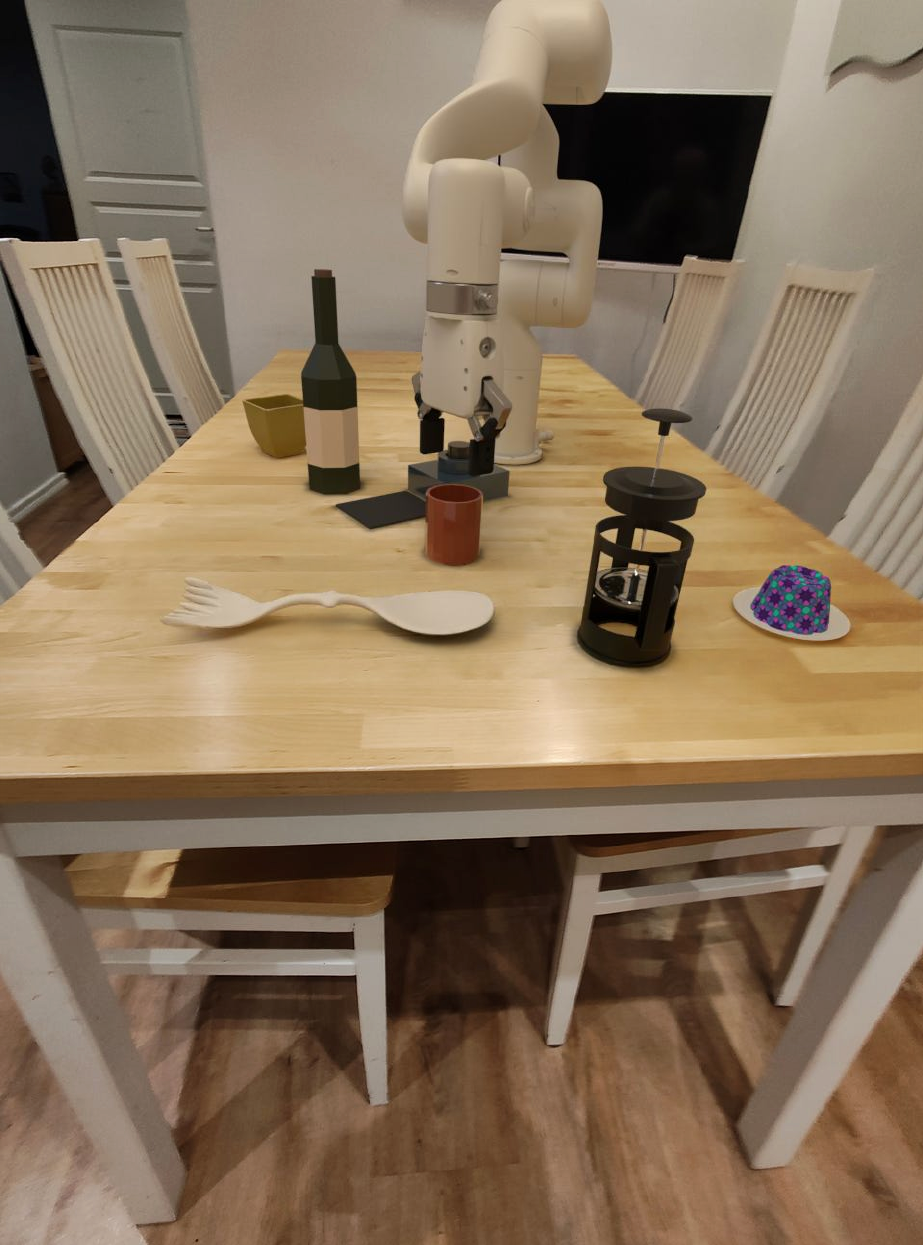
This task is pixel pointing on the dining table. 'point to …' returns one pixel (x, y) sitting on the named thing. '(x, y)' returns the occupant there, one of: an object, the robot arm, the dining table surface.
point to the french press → (640, 559)
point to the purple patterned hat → (794, 605)
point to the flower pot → (277, 424)
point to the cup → (453, 523)
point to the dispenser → (456, 477)
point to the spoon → (405, 610)
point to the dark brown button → (458, 450)
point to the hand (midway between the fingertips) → (455, 462)
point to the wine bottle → (329, 400)
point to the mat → (385, 509)
